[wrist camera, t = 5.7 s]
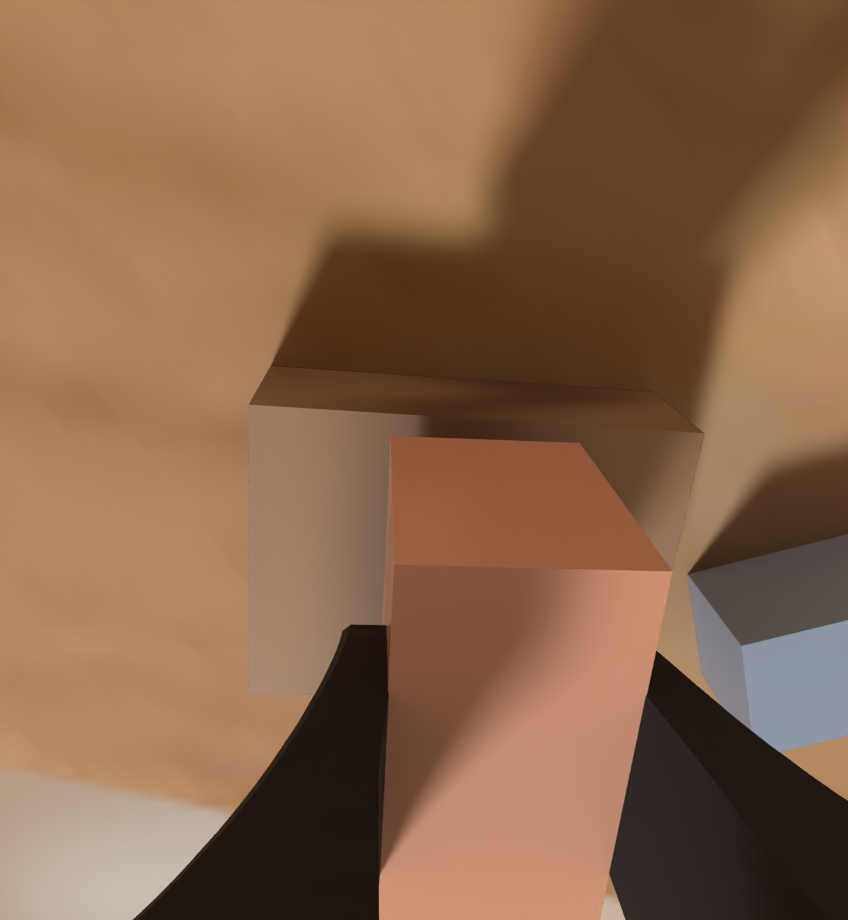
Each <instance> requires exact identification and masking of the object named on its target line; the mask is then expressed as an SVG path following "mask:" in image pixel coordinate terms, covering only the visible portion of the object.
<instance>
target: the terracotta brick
mask: <svg viewBox="0 0 848 920" xmlns="http://www.w3.org/2000/svg"><path fill="white" fill-rule="evenodd" d="M672 572H673V571H672V570H671V569H670V567H669V566H668V564H667V563H666V562H665V560H664V559H663V558H662V556H661V555H660V553H659V552H658V551H657V549H656V548H655V546H654V545H653V544H652V542H651V541H650V540H649V538H648V537H647V535H646V534H645V533H644V531H643V530H642V528H641V527H640V526H639V524H638V523H637V522H636V520H635V519H634V517H633V516H632V515H631V513H630V512H629V510H628V509H627V508H626V506H625V505H624V504H623V502H622V501H621V499H620V498H619V497H618V495H617V494H616V492H615V491H614V490H613V488H612V487H611V486H610V484H609V483H608V481H607V480H606V479H605V477H604V476H603V474H602V473H601V472H600V470H599V469H598V468H597V466H596V465H595V463H594V462H593V461H592V459H591V458H590V456H589V455H588V454H587V452H586V451H585V450H584V448H583V447H582V445H581V444H580V443H567V442H540V441H513V440H486V439H459V438H432V437H405V436H391V439H390V462H389V484H388V507H387V530H386V553H385V576H384V599H383V622H382V625H386V638H387V674H388V692H389V701H388V722H387V743H386V763H385V784H384V805H383V825H382V846H381V867H380V881H379V920H600V917H601V912H602V907H603V903H604V898H605V893H606V888H607V884H608V879H609V871H610V866H611V861H612V856H613V852H614V847H615V842H616V837H617V832H618V827H619V823H620V818H621V813H622V808H623V803H624V799H625V794H626V789H627V784H628V779H629V774H630V770H631V765H632V760H633V755H634V750H635V745H636V741H637V736H638V731H639V726H640V721H641V716H642V712H643V707H644V702H645V697H646V695H647V692H648V687H649V682H650V678H651V673H652V668H653V663H654V658H655V654H656V649H657V644H658V639H659V634H660V630H661V625H662V620H663V615H664V611H665V606H666V601H667V596H668V591H669V587H670V582H671V577H672Z"/></svg>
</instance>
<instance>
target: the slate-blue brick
mask: <svg viewBox="0 0 848 920" xmlns="http://www.w3.org/2000/svg"><path fill="white" fill-rule="evenodd" d="M687 575H688V582H689V589H690V596H691V603H692V609H693V616H694V623H695V630H696V637H697V644H698V651H699V658H700V665H701V672H702V676H703V677H704V679H705V680H706V682H707V684H708V685H709V687H710V688H711V690H712V691H713V693H714V695H715V696H716V698H717V699H718V701H719V703H720V704H721V706H722V707H723V708H724V709H725V710H727V711H728V712H729V713H730V714H732V715H733V716H734V717H735V718H736V719H738V720H739V721H740V722H741V723H743V724H744V725H745V726H746V727H748V728H749V729H750V730H751V731H753V732H754V733H755V734H756V735H758V736H759V737H760V738H762V739H763V740H764V741H765V742H767V743H768V744H769V745H771V746H772V747H773V748H775V749H776V750H777V751H779V752H783V751H787V750H791V749H795V748H800V747H804V746H808V745H812V744H817V743H821V742H825V741H829V740H834V739H838V738H842V737H846V736H848V534H845V535H842V536H838V537H834V538H830V539H826V540H822V541H818V542H814V543H810V544H806V545H802V546H798V547H794V548H790V549H786V550H782V551H778V552H774V553H770V554H766V555H762V556H758V557H754V558H750V559H746V560H742V561H738V562H734V563H730V564H726V565H722V566H718V567H714V568H710V569H706V570H702V571H698V572H694V573H690V574H687Z"/></svg>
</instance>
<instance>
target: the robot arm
mask: <svg viewBox="0 0 848 920" xmlns="http://www.w3.org/2000/svg"><path fill="white" fill-rule="evenodd" d="M388 701H389V692H388V674H387V638H386V625H357V624H350V625H349V626H348V627H347V628H345V629H344V630H343V631H342V634H341V638H340V641H339V644H338V647H337V650H336V652H335V654H334V657H333V659H332V661H331V663H330V666H329V668H328V670H327V672H326V674H325V676H324V678H323V680H322V682H321V684H320V686H319V687H318V689H317V691H316V693H315V694H314V696H313V698H312V700H311V701H310V703H309V705H308V707H307V708H306V710H305V712H304V714H303V715H302V717H301V719H300V720H299V722H298V724H297V725H296V727H295V728H294V730H293V731H292V733H291V734H290V736H289V737H288V739H287V740H286V742H285V743H284V745H283V746H282V748H281V749H280V751H279V752H278V754H277V755H276V757H275V758H274V760H273V761H272V763H271V764H270V766H269V767H268V768H267V770H266V771H265V772H264V774H263V775H262V777H261V778H260V779H259V781H258V782H257V783H256V785H255V786H254V787H253V789H252V790H251V791H250V792H249V794H248V795H247V796H246V798H245V799H244V800H243V801H242V803H241V804H240V805H239V806H238V808H237V809H236V810H235V811H234V812H233V814H232V815H231V816H230V817H229V819H228V820H227V821H226V822H225V823H224V825H223V826H222V827H221V828H220V829H219V831H218V832H217V833H216V834H215V835H214V836H213V837H212V838H211V839H210V841H209V842H208V843H207V844H206V845H205V846H204V847H203V848H202V849H201V851H200V852H199V853H198V854H197V855H196V856H195V857H194V859H193V860H192V861H191V862H190V863H189V864H188V865H187V866H186V867H185V869H184V870H183V871H182V872H181V873H180V874H179V875H178V876H177V877H176V878H175V879H174V880H173V881H172V882H171V883H170V884H169V885H168V886H167V887H166V888H165V889H164V890H163V891H162V892H161V893H160V894H159V895H158V896H157V898H155V899H154V900H153V901H152V902H151V903H150V904H149V905H148V906H147V907H146V908H145V909H144V910H143V911H142V912H141V913H140V914H139V915H137V916H136V917H135V918H134V919H133V920H379V881H380V867H381V846H382V825H383V805H384V784H385V763H386V743H387V722H388ZM609 874H610V877H611V880H612V883H613V885H614V888H615V891H616V894H617V897H618V900H619V902H620V905H621V908H622V911H623V914H624V916H625V919H626V920H848V801H847V800H846V799H844V798H843V797H841V796H840V795H838V794H837V793H835V792H834V791H832V790H831V789H829V788H828V787H827V786H825V785H824V784H822V783H821V782H819V781H818V780H816V779H815V778H814V777H812V776H811V775H809V774H808V773H807V772H805V771H804V770H803V769H801V768H800V767H799V766H797V765H796V764H795V763H793V762H792V761H791V760H789V759H788V758H787V757H785V756H784V755H783V754H781V753H780V752H779V751H777V750H776V749H775V748H773V747H772V746H771V745H769V744H768V743H767V742H765V741H764V740H763V739H762V738H760V737H759V736H758V735H756V734H755V733H754V732H753V731H751V730H750V729H749V728H748V727H746V726H745V725H744V724H743V723H741V722H740V721H739V720H738V719H736V718H735V717H734V716H733V715H732V714H730V713H729V712H728V711H727V710H725V709H724V708H723V707H722V706H721V705H719V704H718V703H717V702H716V701H715V700H713V699H712V698H711V697H710V696H709V695H708V694H706V693H705V692H704V691H703V690H702V689H700V688H699V687H698V686H697V685H696V684H695V683H693V682H692V681H691V680H690V679H689V678H688V677H686V676H685V675H684V674H683V673H682V672H681V671H679V670H678V669H677V668H676V667H675V666H674V665H673V664H671V663H670V662H669V661H668V660H667V659H666V658H664V657H663V656H662V655H661V654H660V653H659V652H657V651H656V654H655V658H654V663H653V668H652V673H651V678H650V682H649V687H648V692H647V695H646V697H645V702H644V707H643V712H642V716H641V721H640V726H639V731H638V736H637V741H636V745H635V750H634V755H633V760H632V765H631V770H630V774H629V779H628V784H627V789H626V794H625V799H624V803H623V808H622V813H621V818H620V823H619V827H618V832H617V837H616V842H615V847H614V852H613V856H612V861H611V866H610V871H609Z"/></svg>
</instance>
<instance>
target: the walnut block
mask: <svg viewBox="0 0 848 920" xmlns="http://www.w3.org/2000/svg"><path fill="white" fill-rule="evenodd" d="M391 436H405V437H432V438H459V439H486V440H513V441H540V442H567V443H580V444H581V445H582V447H583V448H584V450H585V451H586V452H587V454H588V455H589V456H590V458H591V459H592V461H593V462H594V463H595V465H596V466H597V468H598V469H599V470H600V472H601V473H602V474H603V476H604V477H605V479H606V480H607V481H608V483H609V484H610V486H611V487H612V488H613V490H614V491H615V492H616V494H617V495H618V497H619V498H620V499H621V501H622V502H623V504H624V505H625V506H626V508H627V509H628V510H629V512H630V513H631V515H632V516H633V517H634V519H635V520H636V522H637V523H638V524H639V526H640V527H641V528H642V530H643V531H644V533H645V534H646V535H647V537H648V538H649V540H650V541H651V542H652V544H653V545H654V546H655V548H656V549H657V551H658V552H659V553H660V555H661V556H662V558H663V559H664V560H665V562H666V563H667V564H668V566H669V567H670V569H671V570H672V569H673V565H674V560H675V556H676V552H677V548H678V543H679V539H680V535H681V531H682V526H683V522H684V518H685V514H686V509H687V505H688V501H689V497H690V492H691V488H692V484H693V480H694V476H695V471H696V467H697V463H698V459H699V454H700V450H701V446H702V442H703V437H704V433H703V432H702V431H701V430H700V429H698V428H697V427H696V426H695V425H693V424H692V423H691V422H690V421H688V420H687V419H686V418H685V417H683V416H682V415H681V414H680V413H678V412H677V411H676V410H675V409H673V408H672V407H671V406H670V405H668V404H667V403H666V402H665V401H663V400H662V399H661V398H660V397H658V396H657V395H656V394H655V393H654V392H646V391H632V390H617V389H602V388H588V387H573V386H558V385H544V384H529V383H514V382H500V381H485V380H470V379H456V378H441V377H426V376H412V375H397V374H382V373H368V372H353V371H338V370H324V369H309V368H294V367H280V366H270V368H269V370H268V372H267V373H266V375H265V377H264V379H263V380H262V382H261V384H260V386H259V387H258V389H257V391H256V393H255V394H254V396H253V398H252V400H251V401H250V403H249V651H250V693H256V694H288V695H314V694H315V693H316V691H317V689H318V687H319V686H320V684H321V682H322V680H323V678H324V676H325V674H326V672H327V670H328V668H329V666H330V663H331V661H332V659H333V657H334V654H335V652H336V650H337V647H338V644H339V641H340V638H341V634H342V631H343V630H344V629H345V628H347V627H348V626H349V625H350V624H357V625H382V622H383V599H384V576H385V553H386V530H387V507H388V484H389V462H390V439H391Z"/></svg>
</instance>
